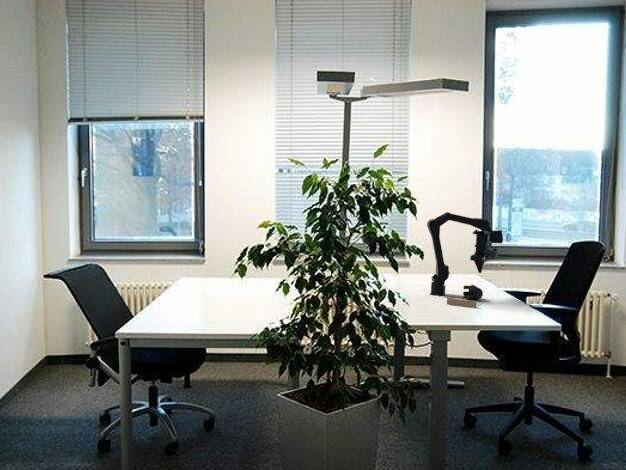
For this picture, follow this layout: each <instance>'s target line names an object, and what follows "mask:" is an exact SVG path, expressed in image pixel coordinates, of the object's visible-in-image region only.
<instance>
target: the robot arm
mask: <svg viewBox="0 0 626 470" xmlns="http://www.w3.org/2000/svg"><path fill="white" fill-rule="evenodd" d="M448 221H451V222H456V223H460V224H464V225H467V226H468V225H469V226H471V227H474V228H475V230H473V231H472V234H473V235H475V236H476V237H475V244H474V247H475V251H474V253H473V254H472V255H470V256H469V257H470V259H469V260H470V261H472V262H474V265H475V266H476V269H477V271H478V273H479V274H482V272H483V268H484V265H485V263H486V262H487V261H489V259H494V260H495V259H497V257H498V256H499V251H498V248H496V247H495V248H490V245H489V244H488V242H489V243H490V244H503V243H504V236H503V231H502V230H493V229H492V228H491V226H490V222H489V221H488V219H485V218H482V217H481V218H479V217H468V216H463V215H459V214H457V213H456V214H455V213H450V212H448V211H445V212H444V213H443V214H440V215H439V216H437V217H435V218H431V219H429V220H428V221H427V222H426V227H427V229H428V232H429V234H430V236H431V241H432V247H433V252H434V258H435V259H434V260H435V263H436V264H435V273H434V275H432V276H431V283H430V284H431V285H430V286H431V287H430V293H429V295H432V296H444V295H445V294H446V284H445V282H446V281H447V280H448V279H449V277H450V274H451V273H450V271H449V265H448V264H445V260H444V255H443V249H442V244H441V238H440V236H441V235H440V234H441V226H443V225H445V224H446V223H447V222H448ZM487 258H488V259H487Z"/></svg>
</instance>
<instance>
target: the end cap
mask: <svg viewBox="0 0 626 470" xmlns="http://www.w3.org/2000/svg"><path fill="white" fill-rule="evenodd" d="M463 290H467V291H463V292H462V295H463V296H462V297H463V298H464V300H469V301H477V302H479V300H480V299H482V298H483V295H484V292H483V290H482V288H480V287H478V286H477V285H475V284H472V283H471V284H470V285H463Z"/></svg>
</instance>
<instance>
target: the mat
mask: <svg viewBox="0 0 626 470" xmlns="http://www.w3.org/2000/svg"><path fill="white" fill-rule="evenodd" d="M484 303H485V302H482V301H469V300H466V299H459V298H452V297H447V298H446V305H450V306H457V307H458V306H459V307H465V308H473V309H477V308H478V307H480V306H482V305H483V304H484Z"/></svg>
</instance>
